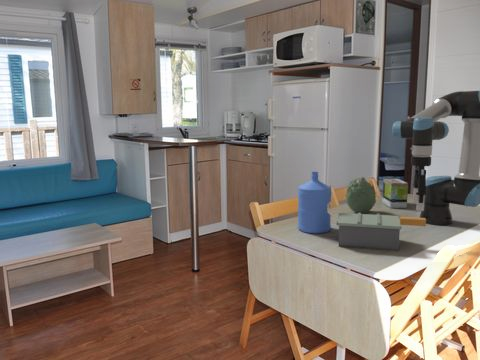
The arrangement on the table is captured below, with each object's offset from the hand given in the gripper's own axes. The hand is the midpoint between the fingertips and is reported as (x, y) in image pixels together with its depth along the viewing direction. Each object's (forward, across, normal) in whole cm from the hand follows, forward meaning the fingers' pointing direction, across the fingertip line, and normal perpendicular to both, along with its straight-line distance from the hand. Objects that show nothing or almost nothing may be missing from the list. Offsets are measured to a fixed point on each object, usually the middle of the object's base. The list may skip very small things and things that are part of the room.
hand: (418, 206), depth 177 cm
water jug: (+17, -15, -44) cm, 50 cm away
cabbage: (+17, -52, -23) cm, 60 cm away
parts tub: (+17, 0, -19) cm, 26 cm away
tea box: (+17, -75, -4) cm, 77 cm away
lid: (+8, 0, -15) cm, 17 cm away
